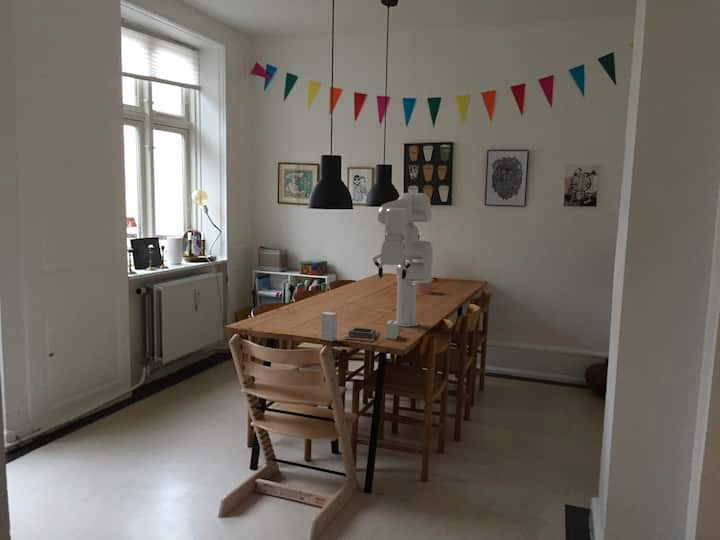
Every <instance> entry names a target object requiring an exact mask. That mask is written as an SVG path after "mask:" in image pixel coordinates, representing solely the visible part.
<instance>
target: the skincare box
mask: <svg viewBox="0 0 720 540" xmlns="http://www.w3.org/2000/svg"><path fill="white" fill-rule="evenodd" d="M320 314H321V315H320V316H321V317H320V340H322V341H327V342H333V341H336V340H338V338H337V337H338V313H336V312H330V311H324V312H321V313H320Z"/></svg>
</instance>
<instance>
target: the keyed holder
mask: <svg viewBox="0 0 720 540" xmlns="http://www.w3.org/2000/svg"><path fill="white" fill-rule="evenodd" d="M380 334H381V332H376V328H366V327H365V328H364V327H354V326H353V327H351V329H350V330H349V331H348V334H347V335H345V337H343V340H344V339H351V340H350V341H353V340H360V341H359V342H364V341H368V342H367V343H373V342H374V341H375V340H376V339H377V338H378V337H379V335H380ZM376 337H377V338H376ZM375 338H376V339H375Z"/></svg>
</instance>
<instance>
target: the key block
mask: <svg viewBox="0 0 720 540" xmlns="http://www.w3.org/2000/svg"><path fill="white" fill-rule="evenodd" d="M398 323H399V321H394V319H393V320H388V321H387V322H386V323H385V339H386V338H389V339H388V340H396V339H397V338H398V336H399V326H398Z"/></svg>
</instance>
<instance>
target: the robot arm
mask: <svg viewBox="0 0 720 540" xmlns="http://www.w3.org/2000/svg"><path fill="white" fill-rule="evenodd" d="M432 212H433V211H432V206H431V202H430V198H429V196H428V195H427V194H426V193H424V192H404V193H402V194H401V195H400V196H399V197H398V198H397V199H395V200H392V201H389V202H388V201H387V202H386V203H383V204H382V205H381V206H380V208H379V209H378V212H377V220H378V222H379V224H380V225H383V226H384V225H385V226H384V240H383V241H382V245H381V251H380V254H378V255H375V256H374V257H372V261H373V263H374V265H375V266H376V268H377V269H378V276H379V279H382V278H383V276H384V275H383V272H384V269H383V266H386V265H387V266H388V265H389V266H396V268H395V272H396V281H397V284H396V285H397V291H396V293H397V294H396V295H397V296H396V317H395V318H396V319H395V320H394V319H393V320H394V321H399V323H398V327H404V328H405V327H406V328H408V327H411V326H412V327H417V326H418V325H419V322H418V321H417V320H416V309H417V307H416V304H417V294H416V288H415V284H414V283H413V282H415V281H417V282H428V281H429V280H430V279H431V275H433V272H432V271H433V253H434V249H433V244H432V242H431V241H429V240H420V239H419V235H420V231H419V228H418V227H417V225H416V224H415V223H429V221H431V219H432V215H433V213H432ZM378 259H380V263H379V262H378ZM414 260H419V261H421V262H416V261H414Z"/></svg>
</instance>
